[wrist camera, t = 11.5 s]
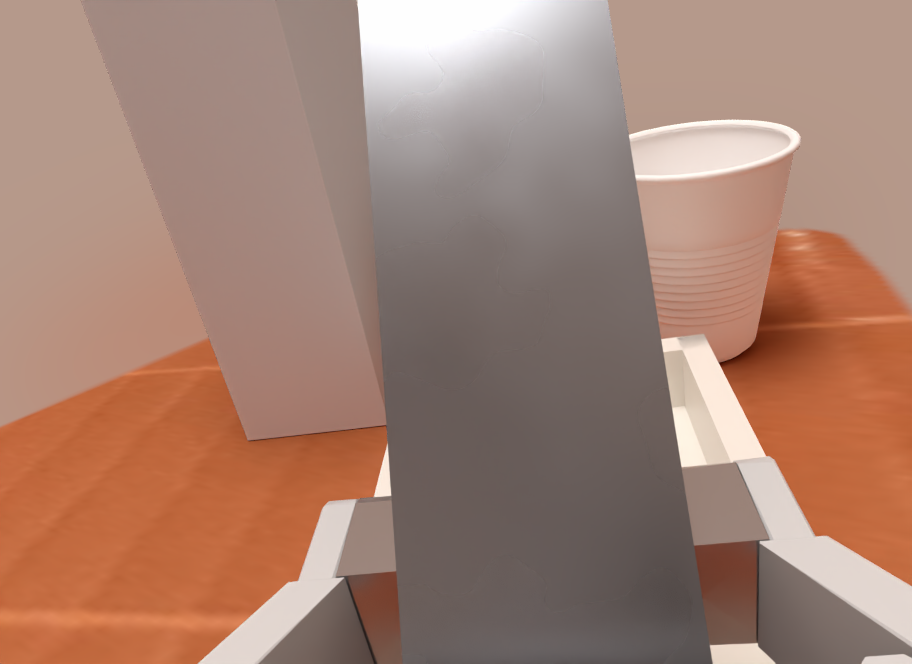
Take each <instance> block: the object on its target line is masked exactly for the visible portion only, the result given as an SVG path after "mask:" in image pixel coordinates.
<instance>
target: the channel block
mask: <svg viewBox="0 0 912 664" xmlns="http://www.w3.org/2000/svg"><path fill="white" fill-rule="evenodd" d="M81 3H82V5H83V8H84V11H85V13H86V16H87V18H88V21H89V24H90V26H91V29H92V32H93V34H94V37H95V40H96V42H97V45H98V47H99V50H100V52H101V55H102V58H103V61H104V63H105V66H106V69H107V71H108V74H109V76H110V79H111V82H112V84H113V87H114V90H115V92H116V95H117V97H118V100H119V103H120V105H121V108H122V111H123V113H124V116H125V118H126V121H127V124H128V126H129V129H130V132H131V134H132V137H133V140H134V142H135V145H136V148H137V150H138V153H139V155H140V158H141V161H142V163H143V166H144V169H145V171H146V173H147V176H148V179H149V182H150V184H151V187H152V190H153V192H154V195H155V197H156V200H157V203H158V205H159V208H160V210H161V213H162V216H163V219H164V221H165V224H166V226H167V229H168V231H169V234H170V237H171V240H172V242H173V245H174V247H175V250H176V253H177V255H178V258H179V261H180V263H181V266H182V268H183V271H184V274H185V276H186V279H187V282H188V284H189V287H190V289H191V292H192V295H193V297H194V300H195V302H196V305H197V308H198V311H199V313H200V316H201V319H202V321H203V324H204V326H205V329H206V332H207V334H208V337H209V340H210V342H211V345H212V347H213V350H214V353H215V355H216V358H217V361H218V363H219V366H220V369H221V371H222V374H223V376H224V379H225V382H226V384H227V387H228V390H229V392H230V395H231V397H232V400H233V403H234V405H235V408H236V411H237V413H238V416H239V419H240V421H241V424H242V426H243V429H244V432H245V434H246V437H247V440H248V441H250V440H259V439H268V438H276V437H285V436H294V435H303V434H312V433H321V432H330V431H339V430H348V429H356V428H365V427H374V426H383V425H386V412H385V397H384V382H383V367H382V353H381V338H380V323H379V308H378V293H377V279H376V264H375V249H374V234H373V220H372V205H371V190H370V175H369V160H368V146H367V131H366V116H365V101H364V87H363V72H362V57H361V42H360V27H359V13H358V6H357V2H356V0H81Z"/></svg>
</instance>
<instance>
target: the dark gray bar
mask: <svg viewBox="0 0 912 664" xmlns="http://www.w3.org/2000/svg"><path fill="white" fill-rule="evenodd" d="M358 13H359V27H360V42H361V57H362V72H363V87H364V101H365V116H366V131H367V146H368V160H369V175H370V190H371V205H372V220H373V234H374V249H375V264H376V279H377V293H378V308H379V323H380V338H381V353H382V367H383V382H384V397H385V412H386V427H387V441H388V456H389V471H390V486H391V500H392V515H393V530H394V545H395V560H396V574H397V589H398V604H399V619H400V633H401V648H402V663H403V664H713V662H712V656H711V650H710V643H709V637H708V631H707V624H706V618H705V612H704V605H703V599H702V593H701V587H700V580H699V574H698V568H697V561H696V555H695V549H694V542H693V536H692V530H691V524H690V517H689V511H688V505H687V498H686V492H685V486H684V479H683V473H682V467H681V461H680V454H679V448H678V442H677V435H676V429H675V423H674V416H673V410H672V404H671V398H670V391H669V385H668V379H667V372H666V366H665V360H664V353H663V347H662V341H661V335H660V328H659V322H658V316H657V309H656V303H655V297H654V290H653V284H652V278H651V272H650V265H649V259H648V253H647V246H646V240H645V234H644V227H643V221H642V215H641V209H640V202H639V196H638V190H637V183H636V177H635V171H634V164H633V158H632V152H631V146H630V139H629V133H628V127H627V120H626V114H625V108H624V102H623V95H622V89H621V83H620V76H619V70H618V64H617V57H616V51H615V45H614V38H613V33H612V26H611V20H610V13H609V7H608V1H607V0H358Z"/></svg>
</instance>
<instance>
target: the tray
mask: <svg viewBox="0 0 912 664" xmlns="http://www.w3.org/2000/svg"><path fill="white" fill-rule="evenodd" d="M661 341H662V347H663V353H664V360H665V366H666V372H667V379H668V385H669V391H670V398H671V404H672V410H673V416H674V423H675V429H676V435H677V442H678V448H679V454H680V461H681V467H688V466H697V465H707V464H716V463H725V462H733V461H735V460H743V459H751V458H759V457H766V455H765V454H764V452H763V450H762V448H761V446H760V444H759V442H758V440H757V438H756V436H755V434H754V432H753V430H752V428H751V426H750V424H749V422H748V420H747V418H746V416H745V414H744V412H743V410H742V408H741V406H740V404H739V402H738V400H737V398H736V396H735V394H734V392H733V390H732V388H731V386H730V384H729V383H728V381H727V379H726V377H725V375H724V373H723V371H722V369H721V367H720V365H719V363H718V361H717V359H716V357H715V355H714V353H713V351H712V349H711V347H710V345H709V343H708V341H707V339H706V337H705V335H704V334H699V335H690V336H682V337H674V338H666V339H661ZM383 496H391V486H390V471H389V456H388V444H387V448H386V452H385V456H384V459H383V463H382V467H381V471H380V475H379V479H378V483H377V487H376V491H375V495H374V497H383ZM710 650H711V656H712V662H713V664H776V663H775V662H774V661H773V660H772V659H771V658H770V657H769V656H768V655H767V654H765V653H764V652H763V651H762V650H761V649H760V648H759V647H758V643H752V644H727V645H710Z"/></svg>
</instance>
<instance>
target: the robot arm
mask: <svg viewBox="0 0 912 664" xmlns="http://www.w3.org/2000/svg"><path fill="white" fill-rule="evenodd" d="M682 473H683V479H684V486H685V492H686V498H687V505H688V511H689V517H690V524H691V530H692V536H693V542H694V549H695V555H696V561H697V568H698V574H699V580H700V587H701V593H702V599H703V605H704V612H705V618H706V624H707V631H708V637H709V643H710V645H727V644H752V643H758V647H759V648H760V649H761V650H762V651H763V652H764V653H765V654H767V655H768V656H769V657H770V658H771V659H772V660H773V661H774V662H775V663H776V664H912V586H910V585H908V584H907V583H905V582H903V581H902V580H900V579H898V578H897V577H895V576H893V575H892V574H890V573H888V572H887V571H885V570H883V569H882V568H880V567H878V566H877V565H875V564H873V563H872V562H870V561H868V560H867V559H865V558H863V557H862V556H860V555H858V554H857V553H855V552H853V551H852V550H850V549H848V548H846V547H845V546H843V545H841V544H840V543H838V542H836V541H835V540H833V539H831V538H830V537H828V536H818V537H815V535H814V533H813V531H812V529H811V527H810V525H809V523H808V522H807V520H806V518H805V516H804V514H803V512H802V510H801V508H800V507H799V505H798V503H797V501H796V499H795V497H794V495H793V493H792V492H791V490H790V488H789V486H788V484H787V482H786V480H785V478H784V477H783V475H782V473H781V471H780V469H779V467H778V465H777V463H776V462H775V460H774V459H772V458H771V457H770V456H767V457H759V458H751V459H743V460H735V461H733V462H725V463H716V464H707V465H697V466H688V467H682ZM198 664H403V663H402V648H401V633H400V619H399V604H398V589H397V574H396V560H395V545H394V530H393V515H392V500H391V496H383V497H370V498H360V499H351V500H339V501H329V502H328V503H327V504H326V505H325V506H324V507H323V508H322V511H321V514H320V517H319V520H318V523H317V526H316V529H315V532H314V535H313V538H312V541H311V544H310V547H309V550H308V553H307V556H306V559H305V562H304V565H303V568H302V570H301V573H300V576H299V579H298V581H295V582H288V583H287V584H286V585H285V586H284V587H283V588H282V589H280V590H279V591H278V592H277V593H276V594H275V595H274V596H273V597H271V598H270V599H269V600H268V601H267V602H266V603H265V604H264V605H263V606H261V607H260V608H259V609H258V610H257V611H256V612H255V613H254V614H253V615H251V616H250V617H249V618H248V619H247V620H246V621H245V622H244V623H243V624H241V625H240V626H239V627H238V628H237V629H236V630H235V631H234V632H232V633H231V634H230V635H229V636H228V637H227V638H226V639H225V640H224V641H222V642H221V643H220V644H219V645H218V646H217V647H216V648H215V649H214V650H212V651H211V652H210V653H209V654H208V655H207V656H206V657H205V658H203V659H202V660H201V661H200V662H199V663H198Z"/></svg>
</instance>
